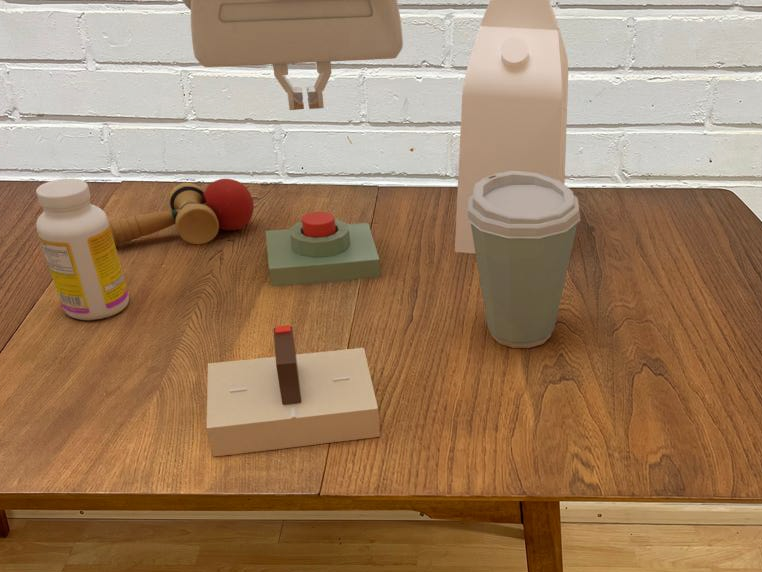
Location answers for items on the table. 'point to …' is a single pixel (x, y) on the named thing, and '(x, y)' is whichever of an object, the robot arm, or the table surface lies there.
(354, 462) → the table surface
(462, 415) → the table surface
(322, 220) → the button
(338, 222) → the button box
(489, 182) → the disposable coffee cup
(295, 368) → the brown box red tab
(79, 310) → the supplement bottle
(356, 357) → the panel
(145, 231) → the kendama
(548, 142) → the milk
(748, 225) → the table surface
